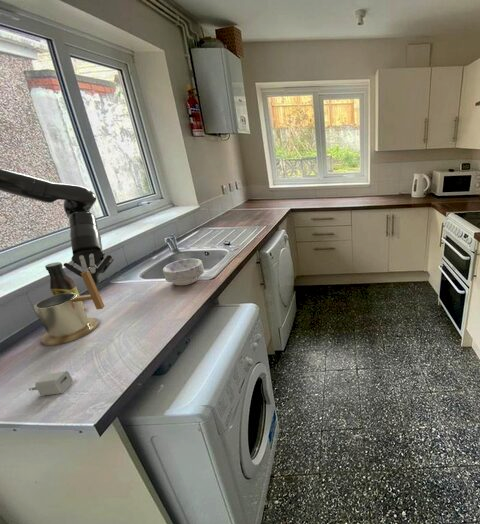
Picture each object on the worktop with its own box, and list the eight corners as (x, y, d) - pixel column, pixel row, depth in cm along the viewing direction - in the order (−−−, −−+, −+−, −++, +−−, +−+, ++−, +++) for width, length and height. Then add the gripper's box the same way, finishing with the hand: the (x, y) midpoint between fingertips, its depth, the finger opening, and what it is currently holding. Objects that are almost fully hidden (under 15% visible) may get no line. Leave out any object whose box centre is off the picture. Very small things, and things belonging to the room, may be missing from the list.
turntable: (34, 351, 86) (33, 349, 85) (50, 328, 97) (49, 326, 97) (94, 335, 92) (93, 332, 92) (102, 315, 103) (101, 313, 103)
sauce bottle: (59, 318, 103) (33, 267, 95) (77, 309, 108) (53, 260, 101) (74, 319, 102) (49, 268, 94) (91, 309, 107) (69, 260, 100)
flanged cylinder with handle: (41, 341, 88) (10, 287, 81) (61, 324, 97) (35, 273, 90) (102, 331, 92) (78, 278, 85) (117, 315, 101) (96, 265, 94)
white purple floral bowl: (186, 290, 118) (181, 273, 115) (159, 286, 123) (153, 270, 120) (213, 275, 131) (209, 259, 128) (188, 272, 136) (183, 257, 133)
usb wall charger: (61, 394, 69) (54, 381, 68) (29, 398, 68) (21, 386, 67) (73, 381, 73) (67, 369, 71) (43, 386, 72) (36, 373, 71)
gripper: (54, 238, 91) (60, 287, 86) (106, 230, 97) (114, 275, 93) (66, 249, 98) (72, 295, 93) (114, 241, 104) (122, 284, 99)
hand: (93, 285), depth 93 cm, fingers closed
